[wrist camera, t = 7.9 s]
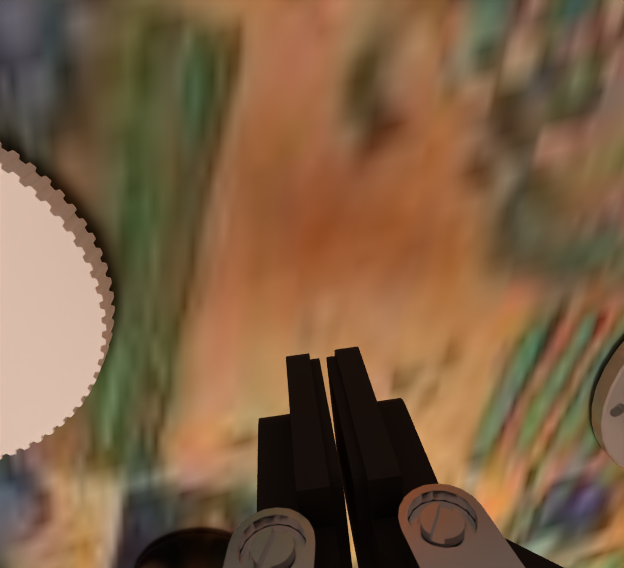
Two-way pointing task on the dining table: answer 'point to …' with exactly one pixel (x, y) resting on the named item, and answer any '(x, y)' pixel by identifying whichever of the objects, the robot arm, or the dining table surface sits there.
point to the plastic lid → (46, 307)
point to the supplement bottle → (187, 552)
